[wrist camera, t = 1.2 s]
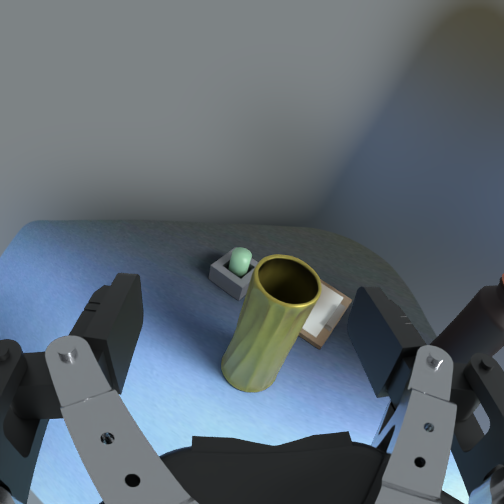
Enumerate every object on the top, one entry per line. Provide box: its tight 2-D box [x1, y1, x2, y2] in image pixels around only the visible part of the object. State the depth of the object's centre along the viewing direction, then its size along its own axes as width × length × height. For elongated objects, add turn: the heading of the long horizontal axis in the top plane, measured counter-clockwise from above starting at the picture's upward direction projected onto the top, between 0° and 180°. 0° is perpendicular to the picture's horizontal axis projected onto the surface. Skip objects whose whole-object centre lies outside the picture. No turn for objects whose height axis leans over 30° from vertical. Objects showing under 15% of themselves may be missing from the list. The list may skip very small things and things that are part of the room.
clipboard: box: [299, 279, 352, 350], centre depth 40 cm, size 10×10×1 cm
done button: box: [228, 248, 252, 279], centre depth 39 cm, size 2×2×3 cm
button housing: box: [208, 247, 258, 301], centre depth 41 cm, size 5×5×2 cm
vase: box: [221, 254, 322, 392], centre depth 28 cm, size 6×6×14 cm
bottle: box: [430, 274, 504, 364], centre depth 28 cm, size 7×7×20 cm
